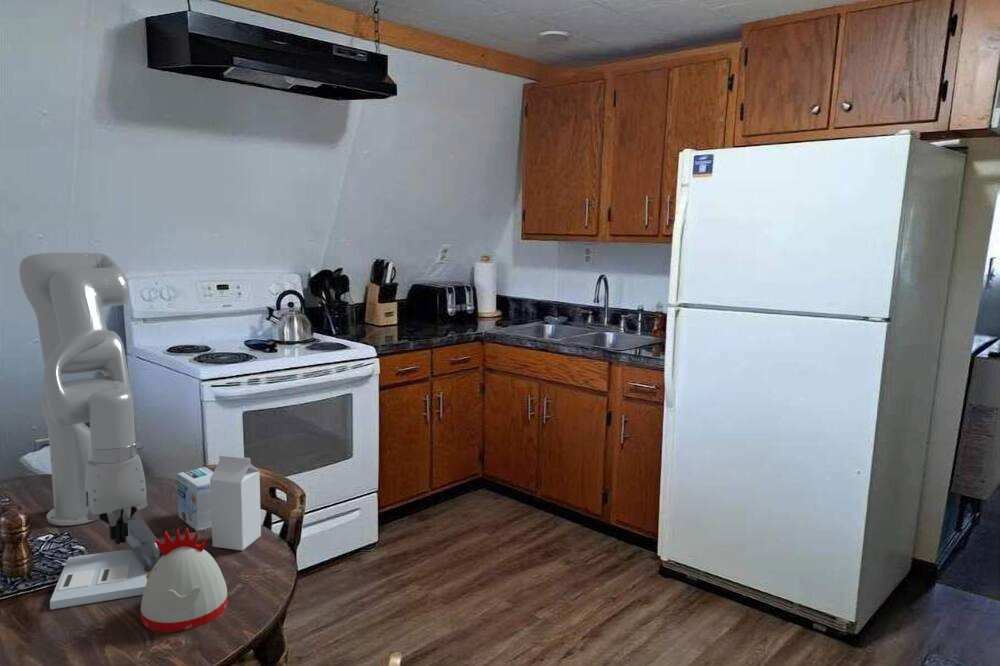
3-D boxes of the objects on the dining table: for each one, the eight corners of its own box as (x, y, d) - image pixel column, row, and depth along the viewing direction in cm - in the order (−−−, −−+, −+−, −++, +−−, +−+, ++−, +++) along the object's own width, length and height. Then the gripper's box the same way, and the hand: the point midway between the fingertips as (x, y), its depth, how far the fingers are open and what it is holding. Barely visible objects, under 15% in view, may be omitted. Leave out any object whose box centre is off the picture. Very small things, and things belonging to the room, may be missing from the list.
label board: (68, 564, 133) (68, 556, 133) (153, 552, 139) (153, 544, 139) (50, 609, 118) (49, 600, 118) (146, 593, 124) (146, 584, 123)
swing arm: (142, 539, 141) (141, 515, 140) (162, 568, 129) (161, 543, 129) (126, 542, 139) (125, 519, 138) (145, 573, 127) (144, 547, 127)
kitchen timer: (146, 595, 123) (142, 517, 121) (227, 583, 128) (225, 508, 126) (136, 638, 111) (131, 552, 108) (226, 623, 116) (224, 541, 113)
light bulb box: (177, 517, 156) (175, 472, 154) (206, 509, 161) (205, 465, 159) (197, 532, 149) (195, 485, 147) (227, 523, 154) (225, 478, 152)
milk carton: (242, 551, 141) (240, 464, 138) (212, 547, 142) (209, 460, 139) (261, 536, 148) (259, 453, 145) (232, 532, 149) (229, 450, 146)
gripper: (149, 441, 140) (154, 525, 142) (65, 455, 130) (71, 545, 132) (161, 450, 134) (165, 537, 137) (73, 466, 124) (80, 559, 127)
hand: (119, 541), depth 135 cm, fingers closed
